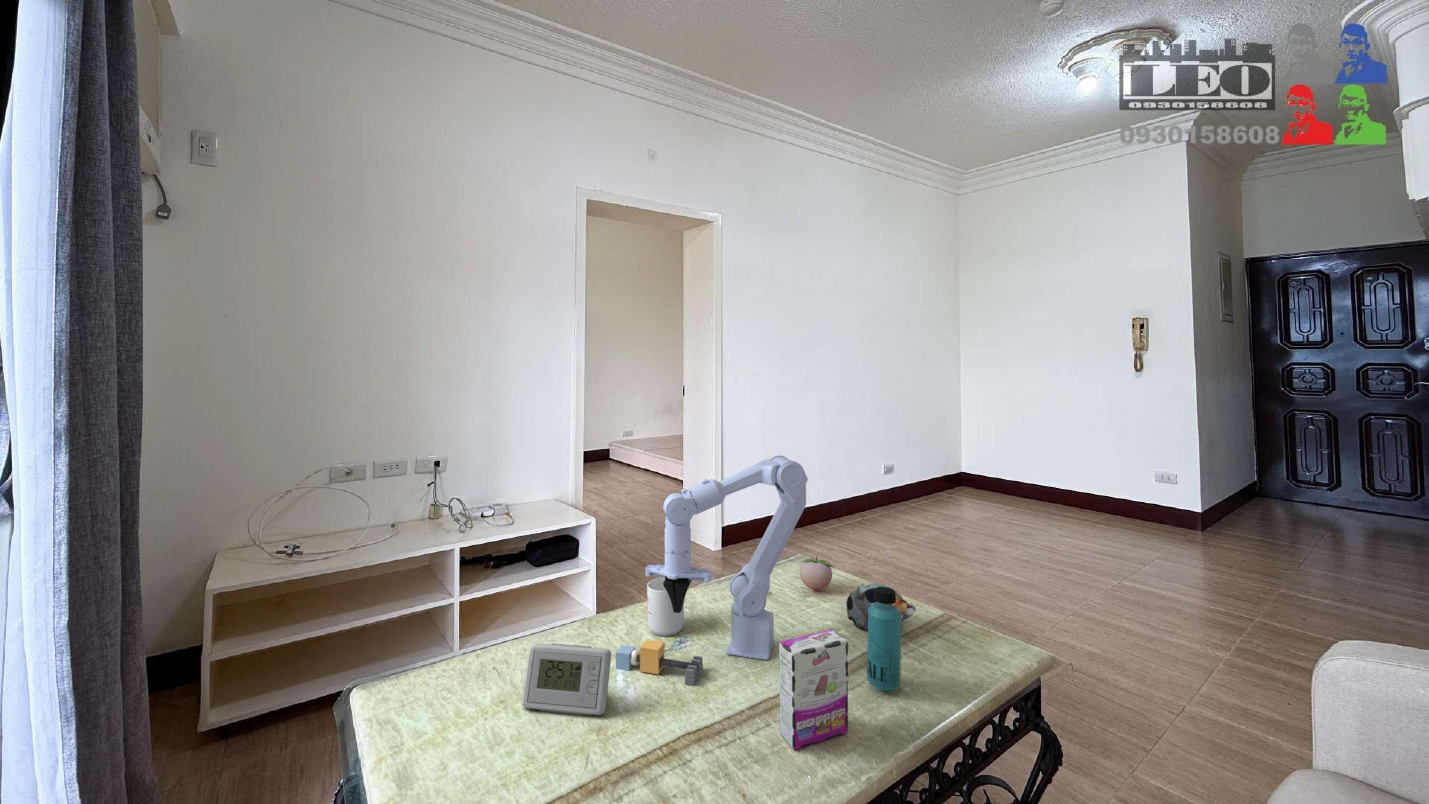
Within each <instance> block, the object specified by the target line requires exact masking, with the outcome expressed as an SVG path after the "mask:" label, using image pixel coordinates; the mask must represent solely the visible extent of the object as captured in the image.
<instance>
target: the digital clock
mask: <svg viewBox="0 0 1429 804" xmlns="http://www.w3.org/2000/svg"><path fill="white" fill-rule="evenodd" d="M611 660H612V652H611V650H610V649H608V648H601V647H592V646H588V645H575V644H561V643H550V644H549V643H532V644H531V646H530V647H529V652H528V659H527V665H526V672H525V673H526V674H525V680H524V687H523V693H522V702H521V703H522V704H521V705H522V706H523V707H524V709H525V708H526V709H530V710H531V709H532V710H539V711H540V712H547V711H550V712H549V713H557V714H558V713H559V714H560V713H561V714H567V715H568V714H569V715H578V716H579V715H580V716H581V715H582V716H586V715H591V716H602V715H604V713H605V711H606V709H607V703H608V702H607V700H608V690H609V683H610V672H611V671H610V670H611Z"/></svg>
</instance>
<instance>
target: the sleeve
mask: <svg viewBox="0 0 1429 804" xmlns="http://www.w3.org/2000/svg"><path fill="white" fill-rule="evenodd" d="M639 651H640V662H639V670H640V672H642V673H647V674H648V673H649V674H652V675H653V674H655V675H659V674H660V673H661V671H662V670H663V668H665V666H661V665H659V659H660V658H665V652H666V651H665V641H660V640H653V639H646V640H645V641H644V642H643V643H642V644H641V646H640V647H639ZM665 659H666V658H665Z"/></svg>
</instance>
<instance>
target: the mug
mask: <svg viewBox="0 0 1429 804" xmlns="http://www.w3.org/2000/svg"><path fill="white" fill-rule="evenodd" d="M664 581H665V577H657V578H654V579H652V580H649V582H647V583H646V585H647V586H646V587H647V588H646V593H647V594H646V597H647V598H646V602H647V603H646V605H647V607H646V610H647V611H646V616H647V617H646V618H647V619H646V621H647V622H646V623H647V629H648V630H649V631H650V632H651V633H652V634H653V635H655V636H659V637H669V636H674V635H677V634H678V633H680V631H681V630H682V629H684V625H685V601H684V602H683V608H682V611H681V612H680V613H674V612H673V607H672V603H671V600H670V597H669V595H668V593H667V591H666V589H665V587H664V586H663V582H664Z"/></svg>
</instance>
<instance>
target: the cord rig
mask: <svg viewBox="0 0 1429 804" xmlns="http://www.w3.org/2000/svg"><path fill="white" fill-rule="evenodd" d="M703 661H704V660H703V655H702V656H701V655H695V654H694V655H693V658H691V660H690V662H689V661H684V660H683V661H682V660H676V659H671V658H670V659H669V658H660V659H659V665H661V666H664V667H667V668H668V667H669V668H674V669H681V670H684V671H685V672H684V673H685V674H684V686H685V685H686V686H694V685H695V683H697V681H698V678H699V677H700V675H701V673H702V671H703V670H704V663H703ZM639 664H640V650H636V646H632V645H623V644H622V645H621V646H620V647H619V649H617V651H615V668H616V669H618V670H623V671H630V670H631V668H633V666H638V665H639Z"/></svg>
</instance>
